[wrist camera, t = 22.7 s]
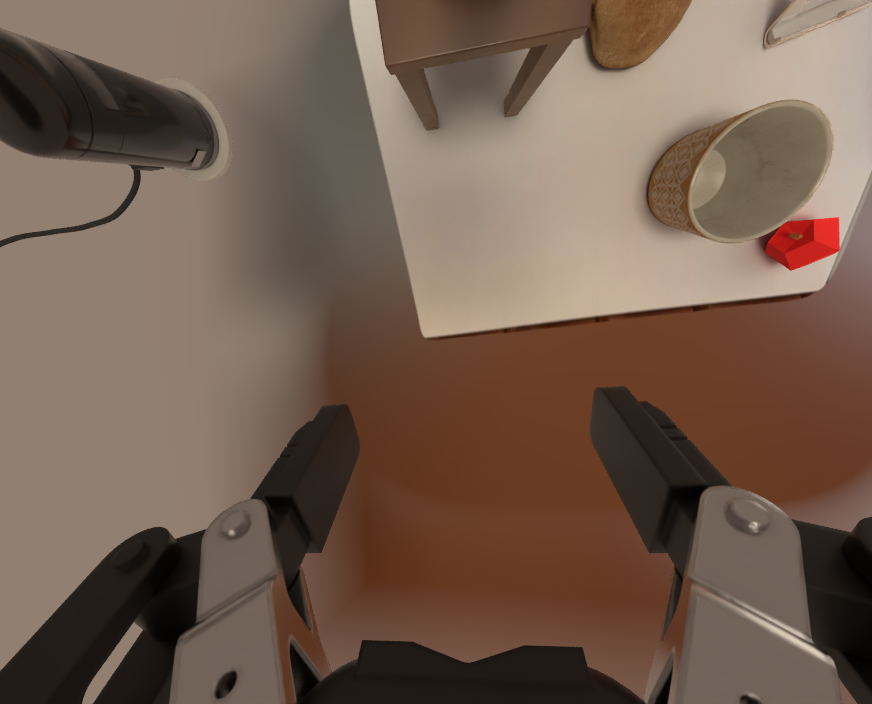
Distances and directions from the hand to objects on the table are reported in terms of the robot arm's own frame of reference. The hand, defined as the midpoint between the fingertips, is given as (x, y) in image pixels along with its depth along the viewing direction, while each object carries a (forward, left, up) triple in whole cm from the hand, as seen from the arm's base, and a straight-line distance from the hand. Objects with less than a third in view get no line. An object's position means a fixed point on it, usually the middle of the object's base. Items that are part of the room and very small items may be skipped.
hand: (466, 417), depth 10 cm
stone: (+20, +21, -41) cm, 50 cm away
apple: (+44, -5, -41) cm, 60 cm away
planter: (+30, +4, -41) cm, 51 cm away
